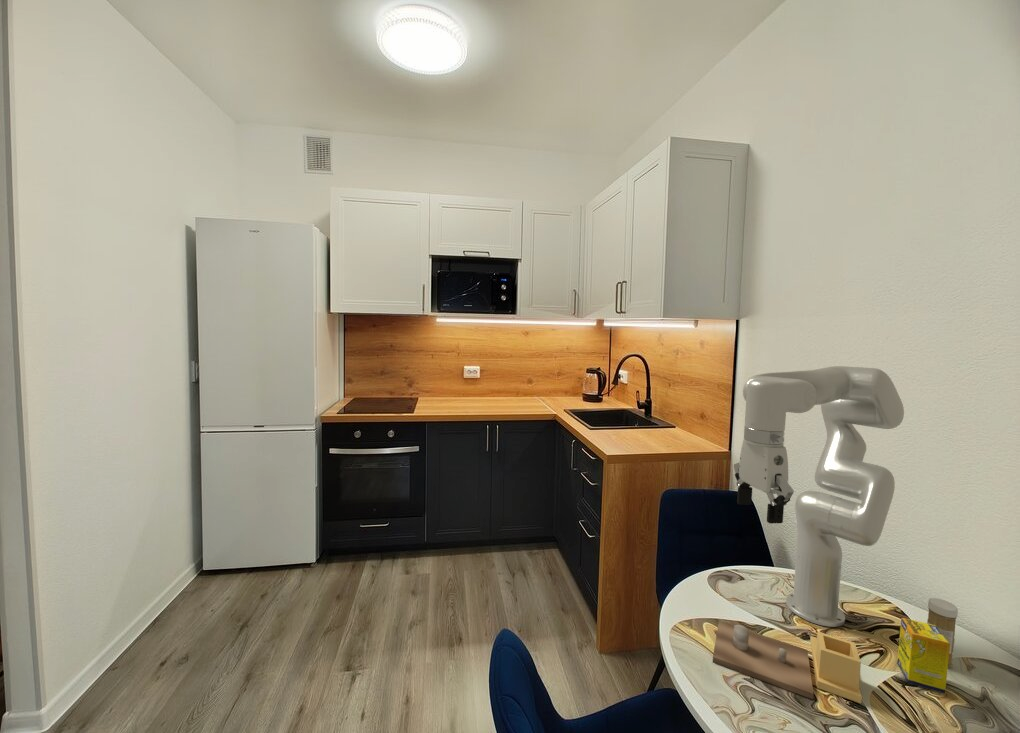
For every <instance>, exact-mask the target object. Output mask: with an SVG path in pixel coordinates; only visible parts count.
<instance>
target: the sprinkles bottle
mask: <svg viewBox="0 0 1020 733" xmlns="http://www.w3.org/2000/svg"><path fill="white" fill-rule="evenodd" d="M927 602H928V603H927V608H928V614H927V622H926V623H927V624H932V625H936V626H937V627H938V629H939V630H940V632H941V633H942V634H943V636H944V637H945V638H946V640H947V641H948V642H949V643H950V651H949V660H948V668H952V667H953V656H954V655H953V654H954V651H955V635H956V634H955V633H956V623H957V621H956V619H958V613H959V612H958V611H959V610H958V607H957V606H956V605H955V604H954V603H952V602H950V601H948V600H945V599H942V598H936V597H931V598H929V599H928V600H927Z"/></svg>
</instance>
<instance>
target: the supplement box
mask: <svg viewBox="0 0 1020 733" xmlns="http://www.w3.org/2000/svg"><path fill="white" fill-rule="evenodd" d="M897 651H898V652H897V661H896V663H897V665H898V667H899V668H900V670H901V672H902V674H903V676H904V678H905V679H906V682H907V683H908V684H910V685H913V686H917V687H920V688H923V689H928V690H930V691H935V692H939V693H943V694H945V693H946V688H947V678H948V660H949V651H950V643H949V642H948V641H947V640H946V638H945V637H944V636H943V634H942V633H941V632H940V630H939V629H938V627H937V626H936V625H932V624H927V622H926V623H925V622H922V621H918V620H913V619H909V618H906V617H901V618H900V627H899V640H898V650H897Z"/></svg>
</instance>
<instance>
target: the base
mask: <svg viewBox="0 0 1020 733" xmlns="http://www.w3.org/2000/svg"><path fill="white" fill-rule="evenodd" d="M712 662H713V663H714V664H717V665H719V666H723V667H725V668H727V669H731V670H734V671H736V672H738V673H741V674H744V675H747V676H749V677H752V678H755V679H757V680H760V681H763V682H765V683H768V684H770V685H773V686H776V687H779V688H781V689H784V690H787V691H789V692H792V693H795V694H797V695H800V696H803V697H805V698H808V699H811V700H814V688H813V682H812V675H811V666H810V659H809V652H808V649H805V648H803V647H800V646H797V645H794V644H792V643H791V644H790V643H787V642H784V641H781V640H779V639H775V638H772V637H769V636H767V635H764V634H761V633H757V632H754V631H752V630H749V629H748V628H747V627H746V626H745V625H742V624H735V625H733V624H730V623H726V622H724V621H722V620H718V625H717V629H716V637H715V643H714V649H713V656H712Z"/></svg>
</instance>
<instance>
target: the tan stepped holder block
mask: <svg viewBox="0 0 1020 733" xmlns="http://www.w3.org/2000/svg"><path fill="white" fill-rule="evenodd" d="M816 633H817V635H816V636H812V635H810V637H809V638H810V639H809V640H810V641H809V643H810V650H812V651H811V656H812V663H813V668H814V670H813V671H814V675H815V683H816V687H817V689H819V690H822V691H825V692H827V693H830V694H834V695H836V696H839V697H841V698H844V699H847V700H850V701H853V702H855V703H858V704H862V693H861V690H860V689H861V688H860V677H861V676H860V675H861V666H862V665H861V662H862V661H861V659H860V655H859V651H858V649H857V646H856V642H854V641H850V640H848V639H844V638H841V637H838V636H834V635H830V634H827V633H823V632H821V631H817V632H816Z"/></svg>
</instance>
